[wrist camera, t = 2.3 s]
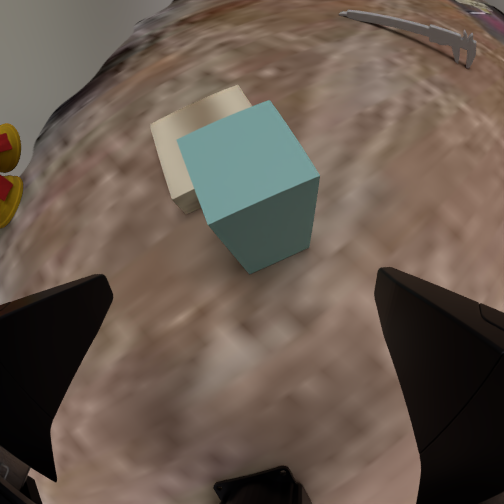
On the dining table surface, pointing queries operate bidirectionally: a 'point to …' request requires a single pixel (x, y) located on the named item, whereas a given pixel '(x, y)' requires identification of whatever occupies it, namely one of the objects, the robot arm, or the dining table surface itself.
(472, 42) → the caliper
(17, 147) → the ornament
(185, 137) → the teal block
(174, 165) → the birch block
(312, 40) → the dining table surface
